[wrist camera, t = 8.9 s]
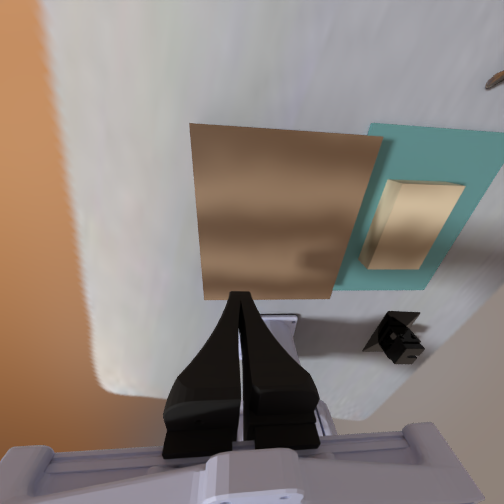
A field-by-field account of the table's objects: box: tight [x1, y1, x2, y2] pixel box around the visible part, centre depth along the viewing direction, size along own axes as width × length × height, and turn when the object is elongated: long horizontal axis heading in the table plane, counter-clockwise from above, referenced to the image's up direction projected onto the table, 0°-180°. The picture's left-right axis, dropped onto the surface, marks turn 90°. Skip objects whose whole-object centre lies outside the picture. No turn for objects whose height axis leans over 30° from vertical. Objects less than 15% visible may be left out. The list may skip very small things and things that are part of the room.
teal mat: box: [333, 123, 504, 290], centre depth 22 cm, size 18×14×1 cm
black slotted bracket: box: [362, 311, 425, 364], centre depth 30 cm, size 12×7×5 cm, turn 173°
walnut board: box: [189, 123, 383, 300], centre depth 19 cm, size 16×14×3 cm
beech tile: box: [358, 179, 466, 269], centre depth 21 cm, size 9×6×2 cm, turn 177°
